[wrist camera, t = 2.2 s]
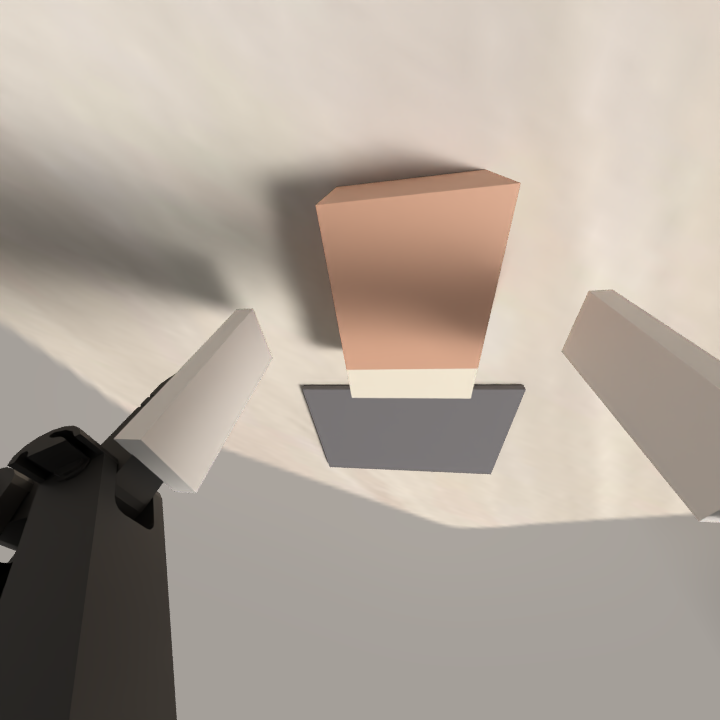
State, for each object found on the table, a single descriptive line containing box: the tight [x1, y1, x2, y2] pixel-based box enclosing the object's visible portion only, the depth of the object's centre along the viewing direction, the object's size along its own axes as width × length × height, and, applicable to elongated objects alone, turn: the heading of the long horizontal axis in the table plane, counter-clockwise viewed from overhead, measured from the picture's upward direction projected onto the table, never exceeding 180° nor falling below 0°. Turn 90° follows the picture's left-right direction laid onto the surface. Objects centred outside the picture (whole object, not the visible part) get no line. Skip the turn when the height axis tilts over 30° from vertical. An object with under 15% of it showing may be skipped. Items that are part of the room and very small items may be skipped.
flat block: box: [316, 170, 521, 399], centre depth 12 cm, size 9×6×4 cm, turn 6°
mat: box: [302, 385, 526, 474], centre depth 22 cm, size 11×15×1 cm
